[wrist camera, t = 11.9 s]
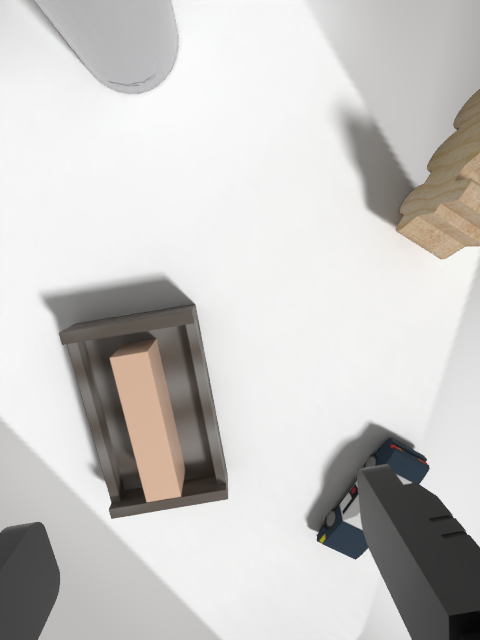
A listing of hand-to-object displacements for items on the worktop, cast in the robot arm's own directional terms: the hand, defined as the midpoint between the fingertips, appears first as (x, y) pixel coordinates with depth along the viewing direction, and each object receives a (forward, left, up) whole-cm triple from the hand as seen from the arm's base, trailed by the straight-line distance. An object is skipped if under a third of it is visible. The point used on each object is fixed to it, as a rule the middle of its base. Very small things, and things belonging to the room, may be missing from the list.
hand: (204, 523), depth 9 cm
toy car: (+26, +14, -31) cm, 43 cm away
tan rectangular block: (+10, -9, -29) cm, 32 cm away
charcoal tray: (+10, -9, -30) cm, 33 cm away
